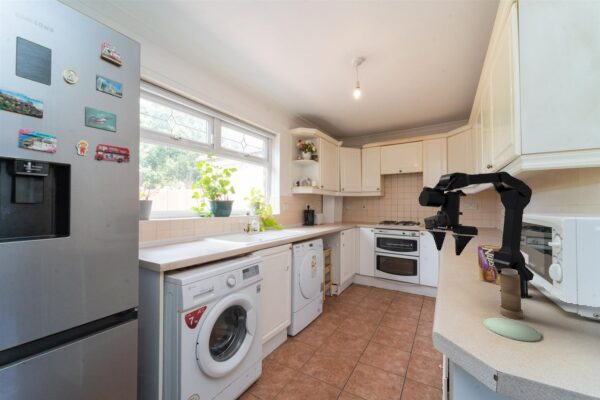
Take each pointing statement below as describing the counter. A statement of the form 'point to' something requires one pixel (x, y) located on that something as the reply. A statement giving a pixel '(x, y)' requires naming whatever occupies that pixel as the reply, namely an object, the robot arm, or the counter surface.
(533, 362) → the counter surface
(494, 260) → the robot arm
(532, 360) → the counter surface
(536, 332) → the rubber mat
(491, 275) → the candy box
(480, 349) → the counter surface
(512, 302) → the pepper mill
